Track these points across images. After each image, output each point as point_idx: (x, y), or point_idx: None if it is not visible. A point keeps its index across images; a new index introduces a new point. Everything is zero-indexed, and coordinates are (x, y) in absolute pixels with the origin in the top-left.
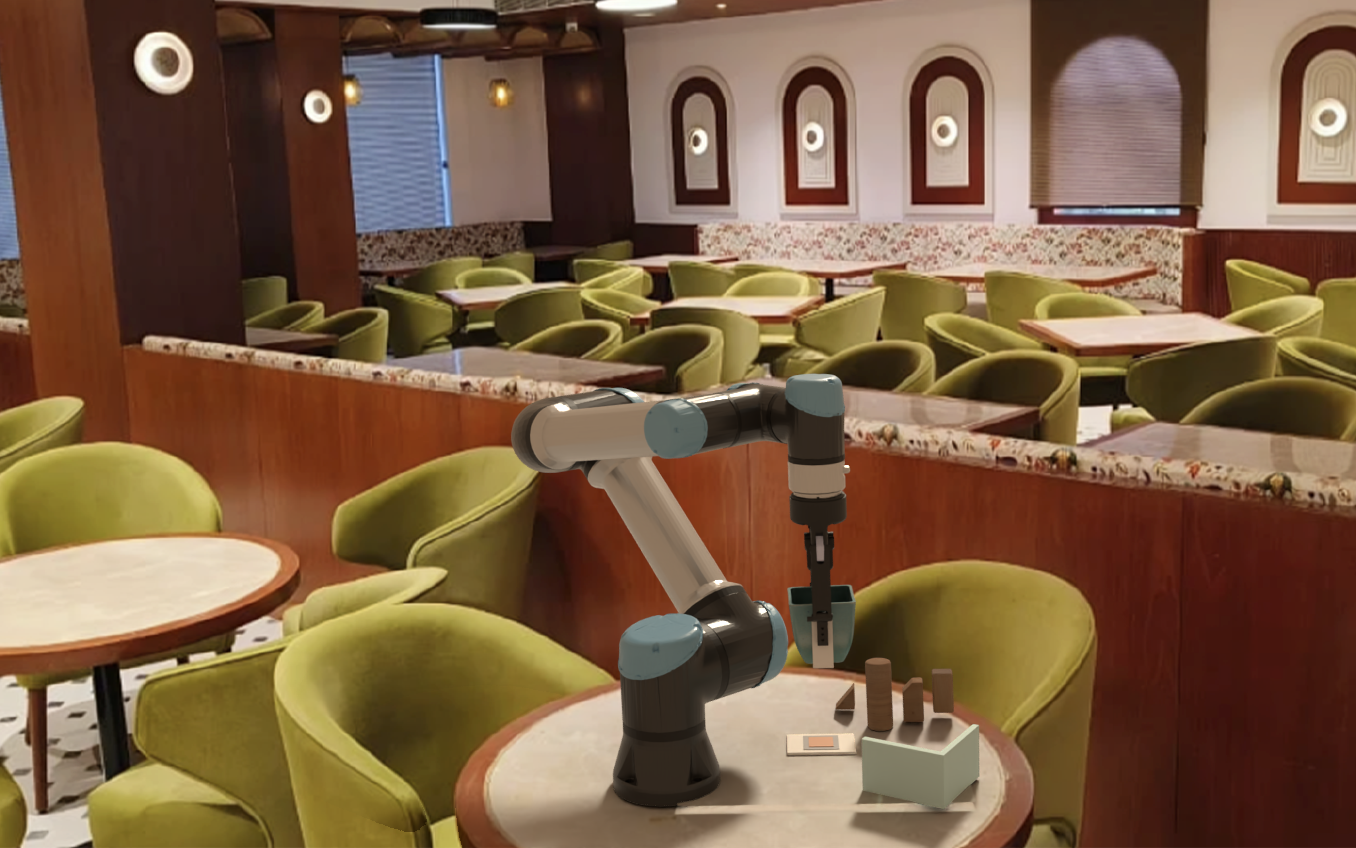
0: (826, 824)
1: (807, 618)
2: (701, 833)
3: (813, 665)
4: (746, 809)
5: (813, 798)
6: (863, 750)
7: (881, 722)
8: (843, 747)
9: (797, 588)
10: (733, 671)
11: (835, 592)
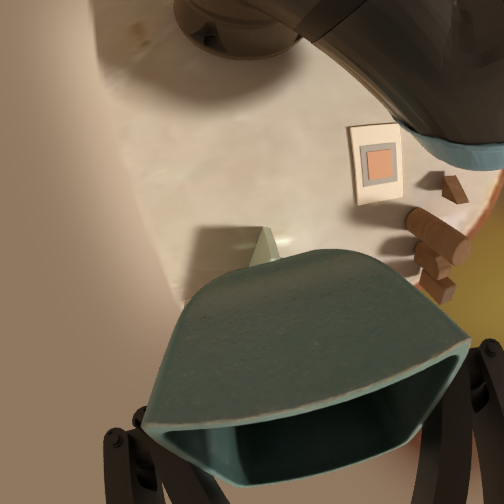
0: (169, 208)
1: (133, 420)
2: (113, 88)
3: (184, 305)
4: (182, 111)
5: (231, 178)
6: (268, 252)
7: (410, 227)
8: (368, 190)
9: (450, 367)
10: (326, 49)
11: (405, 417)
